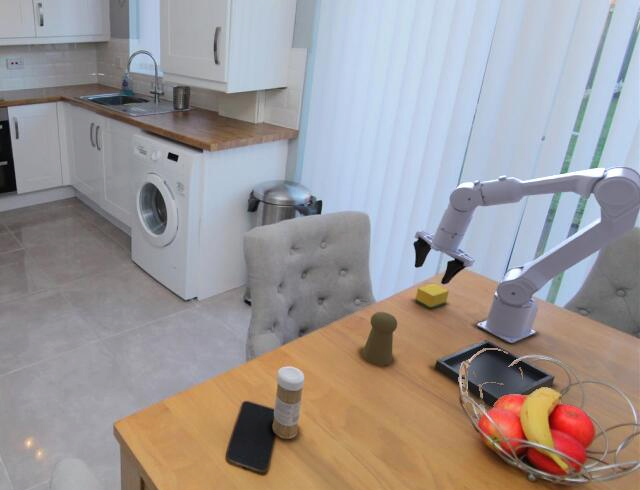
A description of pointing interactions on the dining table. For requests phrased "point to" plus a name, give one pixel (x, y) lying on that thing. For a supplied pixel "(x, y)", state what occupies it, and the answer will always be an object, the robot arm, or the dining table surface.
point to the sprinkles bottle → (288, 402)
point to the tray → (494, 372)
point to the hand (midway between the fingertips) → (431, 274)
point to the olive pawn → (380, 339)
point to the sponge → (431, 296)
